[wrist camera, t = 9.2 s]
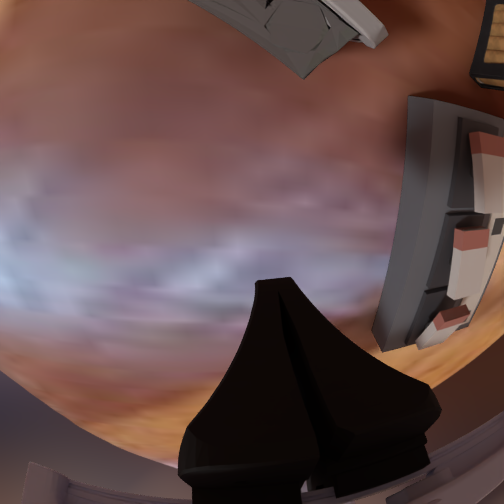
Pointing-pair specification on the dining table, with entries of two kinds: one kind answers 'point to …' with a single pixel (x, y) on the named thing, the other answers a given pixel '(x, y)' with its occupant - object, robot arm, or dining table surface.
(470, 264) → the rocker middle
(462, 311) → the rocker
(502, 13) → the ammunition clip
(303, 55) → the electrical switch
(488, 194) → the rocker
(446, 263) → the switch panel
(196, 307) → the dining table surface
